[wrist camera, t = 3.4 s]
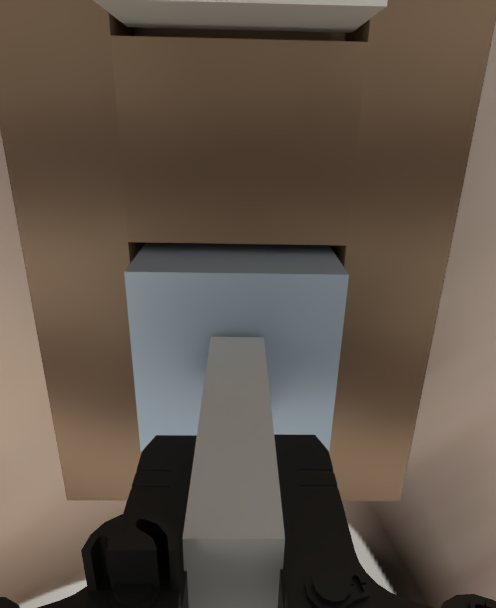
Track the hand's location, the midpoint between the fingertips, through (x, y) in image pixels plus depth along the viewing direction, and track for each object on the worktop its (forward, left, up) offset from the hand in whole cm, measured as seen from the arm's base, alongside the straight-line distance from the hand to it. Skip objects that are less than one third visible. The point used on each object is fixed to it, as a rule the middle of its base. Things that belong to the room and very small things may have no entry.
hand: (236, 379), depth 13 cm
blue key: (0, 0, -4) cm, 3 cm away
